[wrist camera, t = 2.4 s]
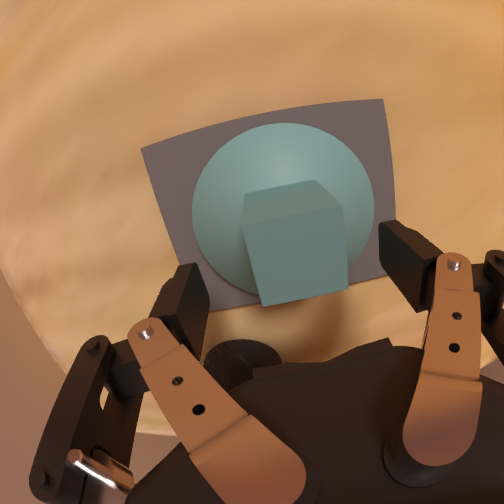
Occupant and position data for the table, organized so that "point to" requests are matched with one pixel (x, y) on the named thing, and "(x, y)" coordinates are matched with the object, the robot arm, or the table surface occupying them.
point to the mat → (216, 136)
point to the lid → (283, 212)
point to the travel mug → (238, 361)
